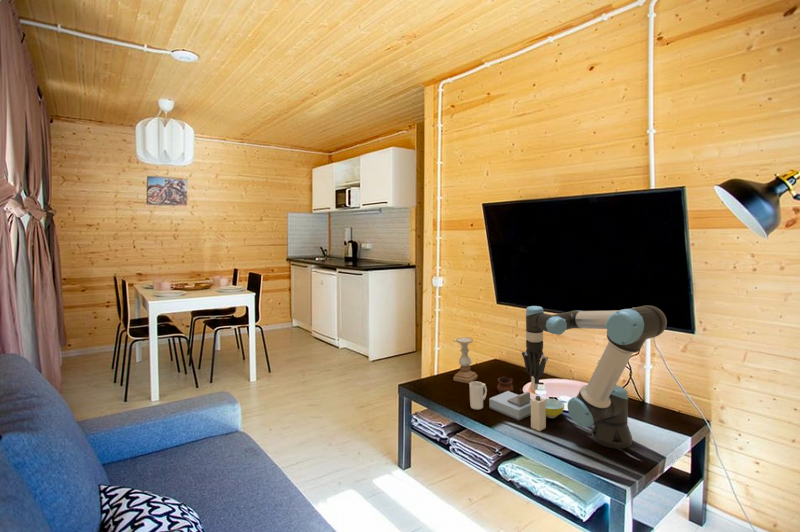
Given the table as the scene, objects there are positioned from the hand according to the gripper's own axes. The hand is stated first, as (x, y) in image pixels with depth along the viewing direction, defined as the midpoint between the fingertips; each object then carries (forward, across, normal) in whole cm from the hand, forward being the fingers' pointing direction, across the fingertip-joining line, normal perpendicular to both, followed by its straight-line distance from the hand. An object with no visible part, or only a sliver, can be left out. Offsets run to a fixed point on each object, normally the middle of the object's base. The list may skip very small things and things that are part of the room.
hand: (534, 389), depth 203 cm
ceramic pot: (+15, +30, -15) cm, 37 cm away
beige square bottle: (+14, -6, +6) cm, 17 cm away
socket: (+14, +12, 0) cm, 19 cm away
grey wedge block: (+9, +9, 0) cm, 13 cm away
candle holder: (+15, +58, -12) cm, 61 cm away
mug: (+15, +26, +9) cm, 32 cm away
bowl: (+14, -4, -8) cm, 17 cm away
